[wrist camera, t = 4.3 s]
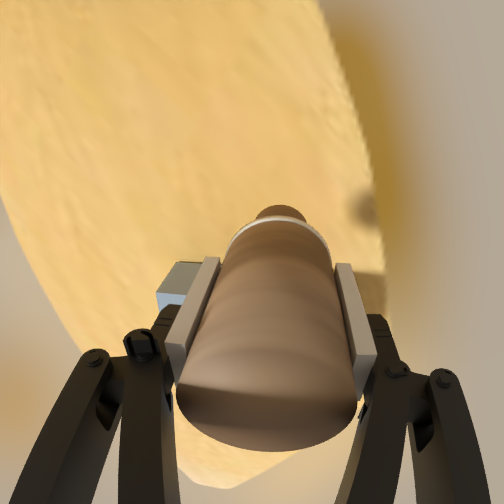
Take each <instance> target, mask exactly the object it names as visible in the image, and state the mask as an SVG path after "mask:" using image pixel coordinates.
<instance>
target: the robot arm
mask: <svg viewBox="0 0 504 504" xmlns="http://www.w3.org/2000/svg"><path fill="white" fill-rule="evenodd" d="M220 269H221V267H220V257H205V259H204V261H203V263H202V265H201V267H200V269H199V271H198V273H197V275H196V277H195V279H194V281H193V283H192V285H191V287H190V289H189V291H188V293H187V296H186V298H185V300H184V302H183V304H182V305H177V304H168V305H167V306H166V307H164V308H163V309H162V310H161V311H160V313H159V315H158V317H157V319H156V321H155V322H154V325H153V326H152V328H151V330H149V329H136V330H133V331H131V332H129V333H128V334H127V335H126V336H125V337H124V340H123V343H124V346H125V349H126V352H127V355H128V356H121V357H110V356H109V353H108V352H106V351H105V350H103V349H92V350H89V351H87V352H85V353H84V354H83V355H82V356H81V358H80V360H79V361H78V363H77V365H76V366H75V368H74V370H73V372H72V373H71V375H70V377H69V379H68V381H67V383H66V384H65V386H64V388H63V390H62V391H61V393H60V395H59V397H58V399H57V401H56V403H55V404H54V406H53V408H52V410H51V412H50V414H49V416H48V418H47V420H46V422H45V424H44V426H43V428H42V430H41V432H40V434H39V436H38V438H37V440H36V442H35V444H34V446H33V448H32V451H31V453H30V455H29V457H28V459H27V461H26V464H25V466H24V468H23V470H22V473H21V475H20V477H19V480H18V482H17V484H16V487H15V489H14V492H13V494H12V497H11V499H10V502H9V504H91V503H92V500H93V497H94V494H95V491H96V487H97V484H98V481H99V478H100V475H101V472H102V469H103V466H104V463H105V461H106V458H107V455H108V452H109V449H110V446H111V443H112V441H113V438H114V435H115V432H116V430H117V427H118V424H119V421H120V419H121V432H120V447H119V472H118V504H181V503H180V493H179V483H178V473H177V461H176V447H175V432H174V412H173V395H172V392H171V388H172V386H173V383H174V382H175V386H176V388H177V385H178V382H179V379H180V376H181V373H182V370H183V368H184V365H185V362H186V360H187V357H188V354H189V351H190V349H191V346H192V343H193V341H194V338H195V335H196V332H197V330H198V327H199V324H200V322H201V319H202V316H203V314H204V311H205V308H206V306H207V303H208V301H209V298H210V295H211V293H212V290H213V287H214V285H215V282H216V280H217V277H218V274H219V272H220ZM334 278H335V282H336V287H337V291H338V296H339V301H340V306H341V310H342V315H343V320H344V325H345V331H346V336H347V341H348V347H349V352H350V358H351V364H352V370H353V376H354V382H355V388H356V395H357V401H360V399H361V397H362V394H364V400H365V402H364V404H363V407H362V409H361V411H360V413H359V416H358V419H359V423H358V426H357V430H356V434H355V438H354V442H353V446H352V449H351V453H350V456H349V460H348V463H347V466H346V470H345V473H344V477H343V479H342V483H341V485H340V489H339V492H338V495H337V497H336V500H335V503H334V504H393V503H394V498H395V494H396V489H397V484H398V479H399V474H400V468H401V462H402V456H403V449H404V442H405V435H406V427H407V425H408V432H409V438H410V445H411V452H412V460H413V469H414V479H415V489H416V502H417V504H491V501H490V495H489V489H488V484H487V479H486V474H485V469H484V465H483V461H482V457H481V452H480V448H479V445H478V441H477V437H476V433H475V430H474V426H473V423H472V420H471V416H470V413H469V410H468V406H467V403H466V400H465V397H464V394H463V391H462V388H461V386H460V383H459V380H458V378H457V376H456V375H455V374H454V373H453V372H452V371H450V370H447V369H442V368H440V369H435V370H434V371H433V372H431V374H430V376H427V375H422V374H417V373H414V372H411V371H410V368H409V367H408V365H407V364H406V363H404V362H403V361H401V360H400V358H399V355H398V352H397V349H396V346H395V343H394V340H393V338H392V334H391V331H390V328H389V326H388V323H387V321H386V320H385V319H384V318H383V317H382V316H381V315H380V314H366V312H365V309H364V305H363V302H362V299H361V296H360V292H359V289H358V286H357V283H356V280H355V277H354V274H353V271H352V268H351V265H350V264H349V263H336V266H335V273H334ZM121 416H122V418H121Z"/></svg>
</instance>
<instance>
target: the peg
mask: <svg viewBox="0 0 504 504" xmlns="http://www.w3.org/2000/svg"><path fill="white" fill-rule="evenodd" d="M176 400H177V404H178V406H179V409H180V410H181V412H182V414H183V415H184V416H185V418H186V419H187V420H188V421H189V422H190V423H191V424H192V425H193V426H194V427H196V428H197V429H198V430H200V431H201V432H202V433H204V434H206V435H207V436H209V437H211V438H213V439H215V440H217V441H220V442H222V443H225V444H228V445H231V446H234V447H238V448H242V449H247V450H253V451H263V452H284V451H293V450H299V449H304V448H308V447H312V446H315V445H317V444H320V443H322V442H325V441H327V440H329V439H331V438H332V437H334V436H336V435H337V434H338V433H340V432H341V431H342V430H344V429H345V428H346V427H347V426H348V424H349V423H350V422H351V421H352V419H353V417H354V415H355V413H356V410H357V402H358V401H357V395H356V388H355V382H354V376H353V370H352V364H351V358H350V352H349V347H348V341H347V336H346V331H345V325H344V320H343V315H342V310H341V306H340V301H339V296H338V291H337V287H336V282H335V278H334V273H333V269H332V261H331V256H330V252H329V249H328V246H327V244H326V242H325V240H324V239H323V237H322V236H321V235H320V234H319V232H318V231H316V230H315V229H314V228H313V227H312V226H310V225H309V224H307V222H306V220H305V218H304V216H303V215H302V214H301V213H300V212H299V211H297V210H296V209H294V208H292V207H290V206H286V205H274V206H270V207H268V208H266V209H264V210H263V211H262V212H260V213H259V215H258V216H257V217H256V219H255V220H254V221H252V222H250V223H248V224H246V225H245V226H244V227H242V228H241V229H240V230H239V231H238V232H237V233H236V234H235V236H234V237H233V238H232V240H231V242H230V244H229V246H228V249H227V251H226V254H225V259H224V261H223V264H222V267H221V269H220V272H219V274H218V277H217V280H216V282H215V285H214V287H213V290H212V293H211V295H210V298H209V301H208V303H207V306H206V308H205V311H204V314H203V316H202V319H201V322H200V324H199V327H198V330H197V332H196V335H195V338H194V341H193V343H192V346H191V349H190V351H189V354H188V357H187V360H186V362H185V365H184V368H183V370H182V373H181V376H180V379H179V382H178V385H177V388H176Z"/></svg>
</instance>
